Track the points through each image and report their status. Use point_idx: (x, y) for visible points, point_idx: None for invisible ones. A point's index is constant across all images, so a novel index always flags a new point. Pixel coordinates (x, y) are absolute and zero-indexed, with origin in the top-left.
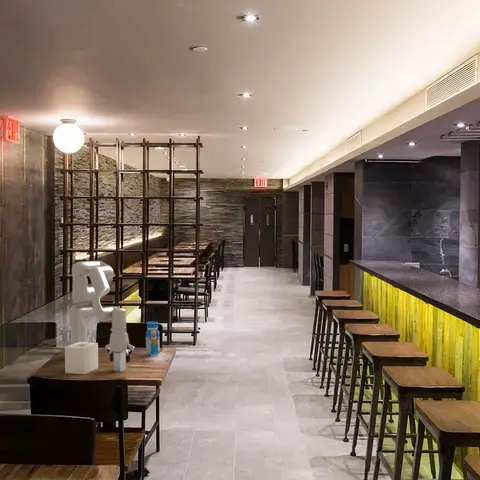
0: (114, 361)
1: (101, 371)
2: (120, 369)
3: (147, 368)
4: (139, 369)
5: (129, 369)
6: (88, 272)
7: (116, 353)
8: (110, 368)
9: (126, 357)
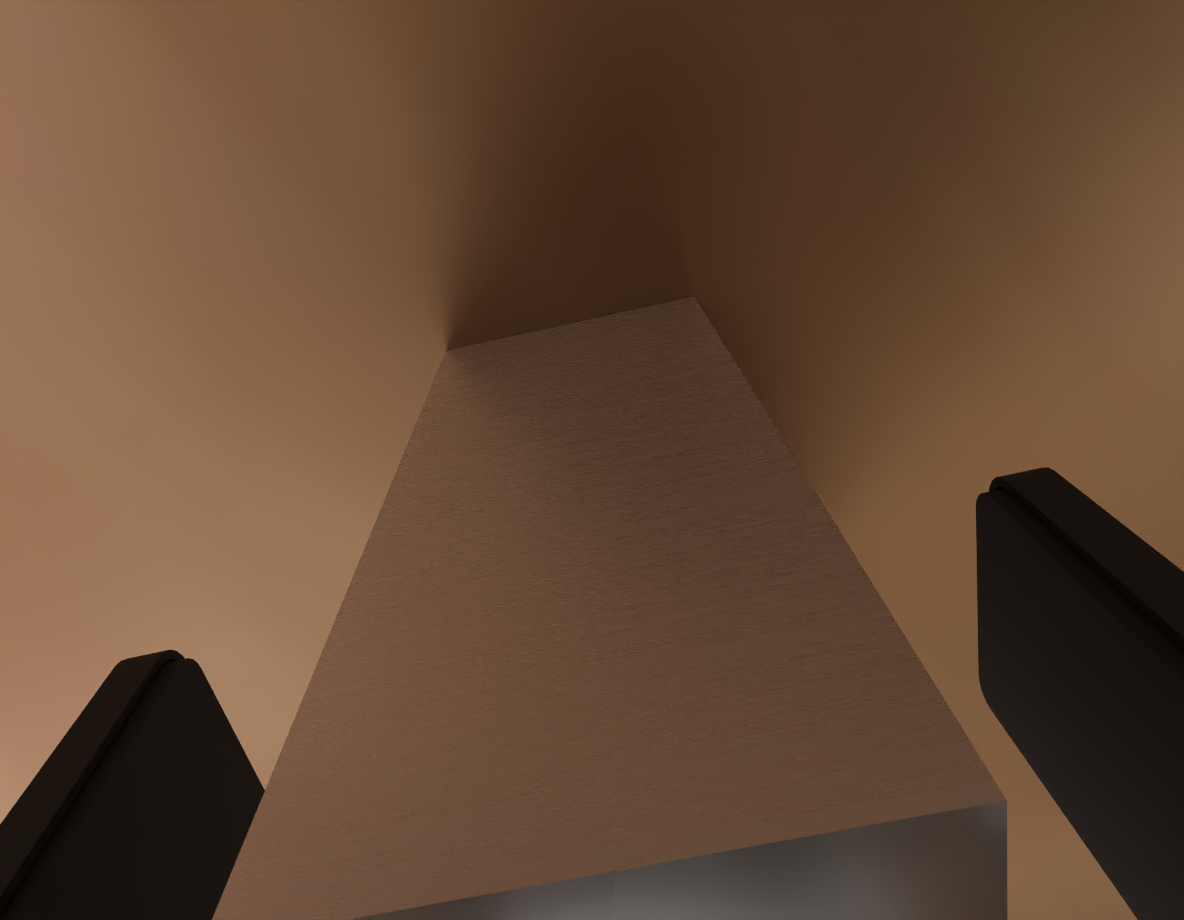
0: (730, 440)
1: (1108, 37)
2: (438, 381)
3: None
4: None
5: None
6: None
7: (634, 845)
8: None
9: (3, 847)
